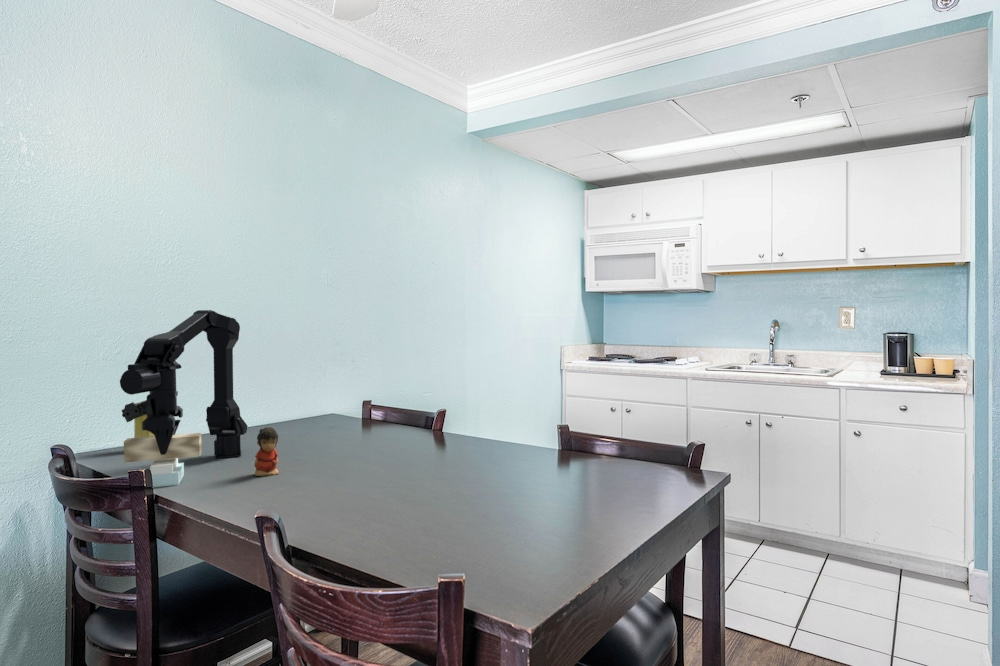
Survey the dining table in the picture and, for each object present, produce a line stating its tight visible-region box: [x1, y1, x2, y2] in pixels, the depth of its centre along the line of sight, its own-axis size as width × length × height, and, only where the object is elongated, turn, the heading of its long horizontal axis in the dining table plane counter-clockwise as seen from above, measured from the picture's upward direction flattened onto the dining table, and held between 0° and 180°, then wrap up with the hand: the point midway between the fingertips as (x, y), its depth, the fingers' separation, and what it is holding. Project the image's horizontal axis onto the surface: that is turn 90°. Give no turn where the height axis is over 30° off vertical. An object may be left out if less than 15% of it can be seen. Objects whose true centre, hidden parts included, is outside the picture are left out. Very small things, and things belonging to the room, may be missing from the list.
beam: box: [123, 432, 203, 463], centre depth 144 cm, size 16×4×5 cm, turn 111°
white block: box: [149, 458, 185, 488], centre depth 144 cm, size 7×10×5 cm
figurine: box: [254, 426, 280, 477], centre depth 150 cm, size 6×6×12 cm
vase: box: [133, 402, 154, 438], centre depth 178 cm, size 6×6×14 cm
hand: (164, 452), depth 144 cm, fingers closed on beam, 4 cm apart
